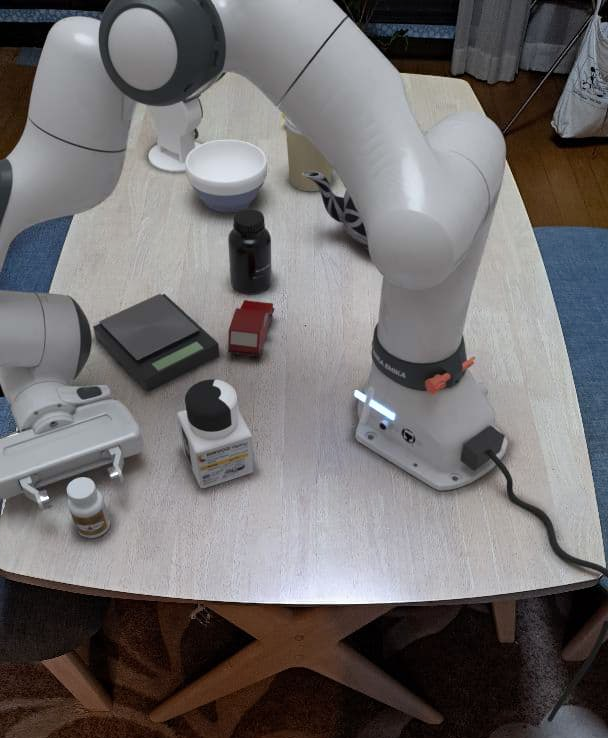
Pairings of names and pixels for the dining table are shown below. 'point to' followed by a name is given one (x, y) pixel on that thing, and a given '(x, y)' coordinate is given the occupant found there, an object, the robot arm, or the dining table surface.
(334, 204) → the teapot
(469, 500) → the dining table surface
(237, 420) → the container
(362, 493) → the dining table surface
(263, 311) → the toy truck
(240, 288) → the supplement bottle
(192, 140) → the white device on stand
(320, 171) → the coffee cup
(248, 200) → the bowl
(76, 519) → the pill bottle
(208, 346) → the scale
